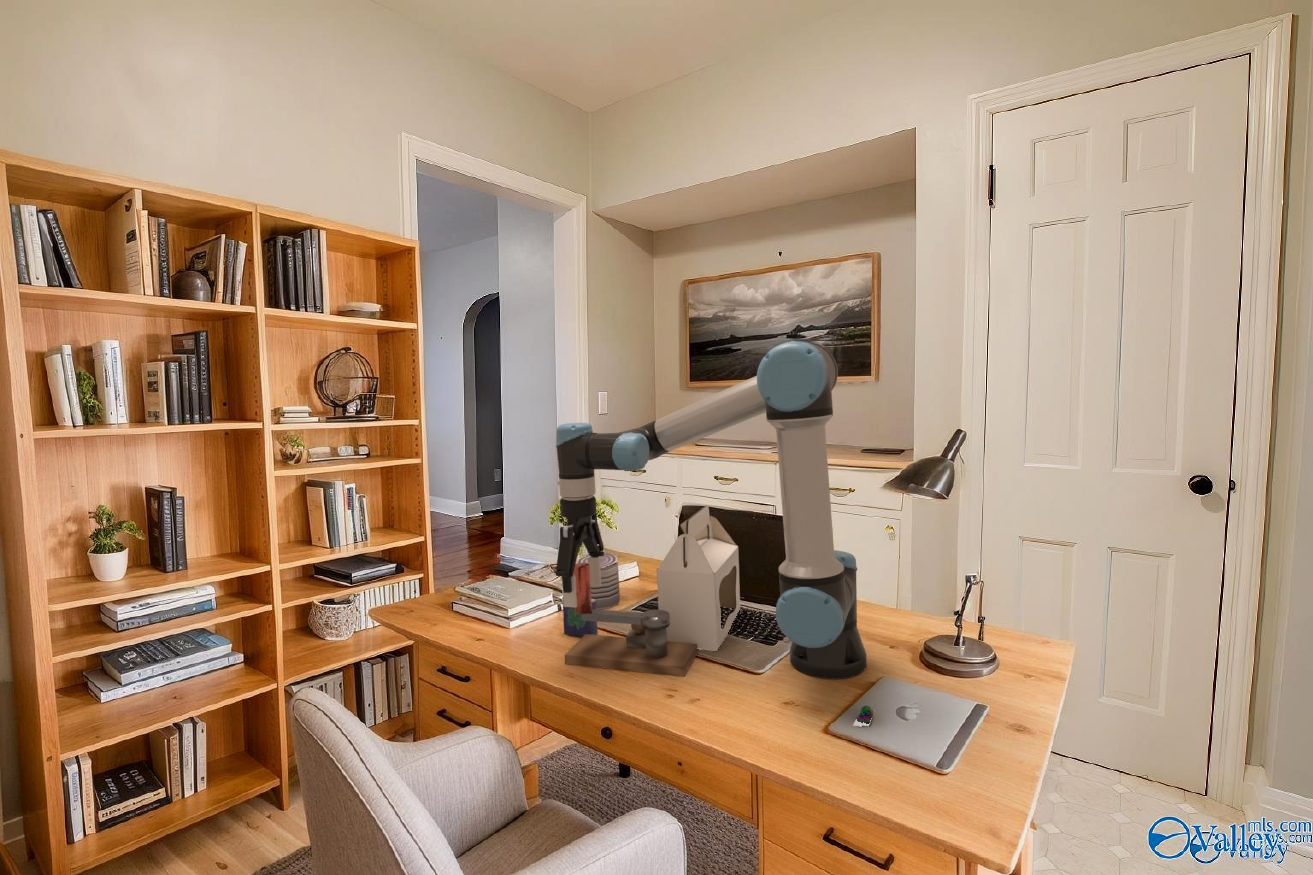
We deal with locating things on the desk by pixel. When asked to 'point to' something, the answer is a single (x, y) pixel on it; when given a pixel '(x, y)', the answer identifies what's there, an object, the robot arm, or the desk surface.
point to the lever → (584, 607)
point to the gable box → (700, 582)
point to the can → (606, 581)
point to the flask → (578, 622)
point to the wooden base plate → (634, 652)
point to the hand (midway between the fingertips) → (583, 595)
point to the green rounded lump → (865, 715)
